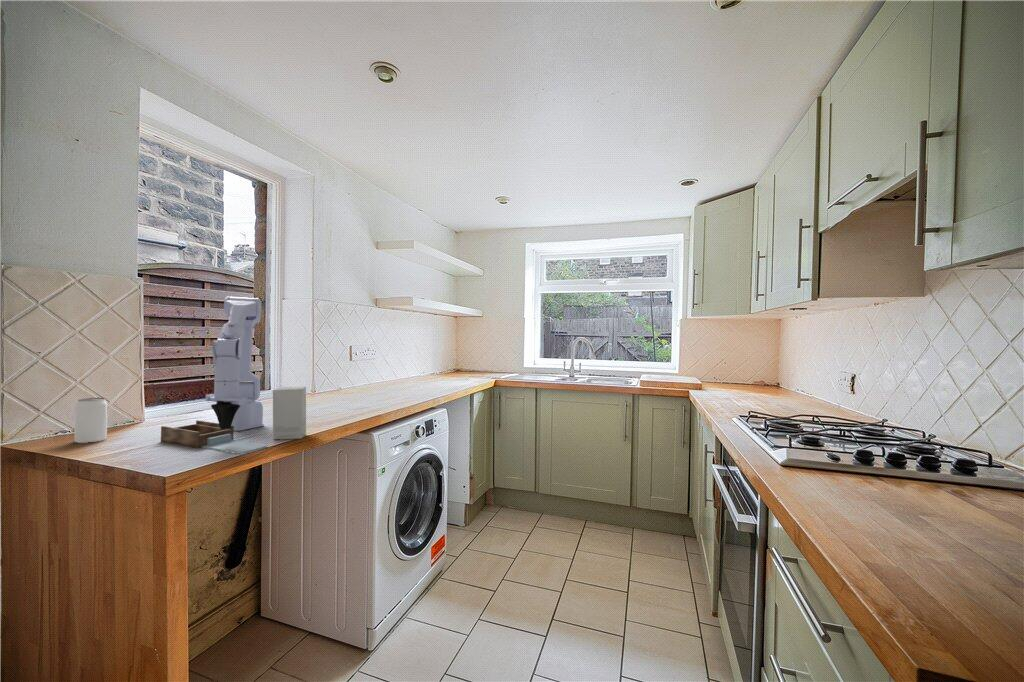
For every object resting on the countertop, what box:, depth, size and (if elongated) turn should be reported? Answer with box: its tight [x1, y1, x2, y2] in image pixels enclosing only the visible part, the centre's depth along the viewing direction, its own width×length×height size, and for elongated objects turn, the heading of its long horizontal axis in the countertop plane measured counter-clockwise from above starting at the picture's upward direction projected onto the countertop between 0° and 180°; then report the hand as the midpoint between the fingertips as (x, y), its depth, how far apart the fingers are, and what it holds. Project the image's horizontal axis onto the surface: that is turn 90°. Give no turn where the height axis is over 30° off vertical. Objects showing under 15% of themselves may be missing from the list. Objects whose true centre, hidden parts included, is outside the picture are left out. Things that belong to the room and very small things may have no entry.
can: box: [73, 397, 108, 444], centre depth 117 cm, size 6×6×12 cm
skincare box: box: [272, 386, 307, 440], centre depth 128 cm, size 8×7×16 cm
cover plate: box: [201, 434, 268, 455], centre depth 116 cm, size 15×8×3 cm, turn 69°
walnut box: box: [160, 419, 235, 449], centre depth 121 cm, size 16×10×4 cm, turn 70°
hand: (225, 428), depth 117 cm, fingers closed
